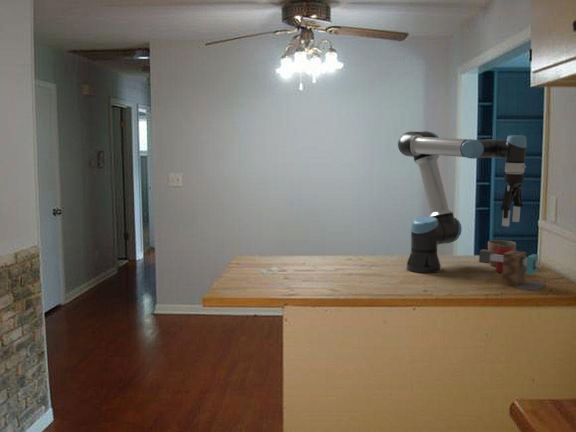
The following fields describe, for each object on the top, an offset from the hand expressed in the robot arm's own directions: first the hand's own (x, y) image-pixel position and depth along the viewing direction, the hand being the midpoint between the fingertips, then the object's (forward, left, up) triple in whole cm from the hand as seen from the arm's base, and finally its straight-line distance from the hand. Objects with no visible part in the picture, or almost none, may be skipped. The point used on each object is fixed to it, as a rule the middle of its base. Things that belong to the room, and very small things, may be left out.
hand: (510, 223), depth 246 cm
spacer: (+11, -6, -18) cm, 22 cm away
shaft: (+2, -6, -16) cm, 18 cm away
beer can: (-7, +13, -24) cm, 28 cm away
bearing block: (+4, -6, -24) cm, 25 cm away
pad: (+12, -6, -24) cm, 27 cm away
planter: (-13, +26, -24) cm, 38 cm away
